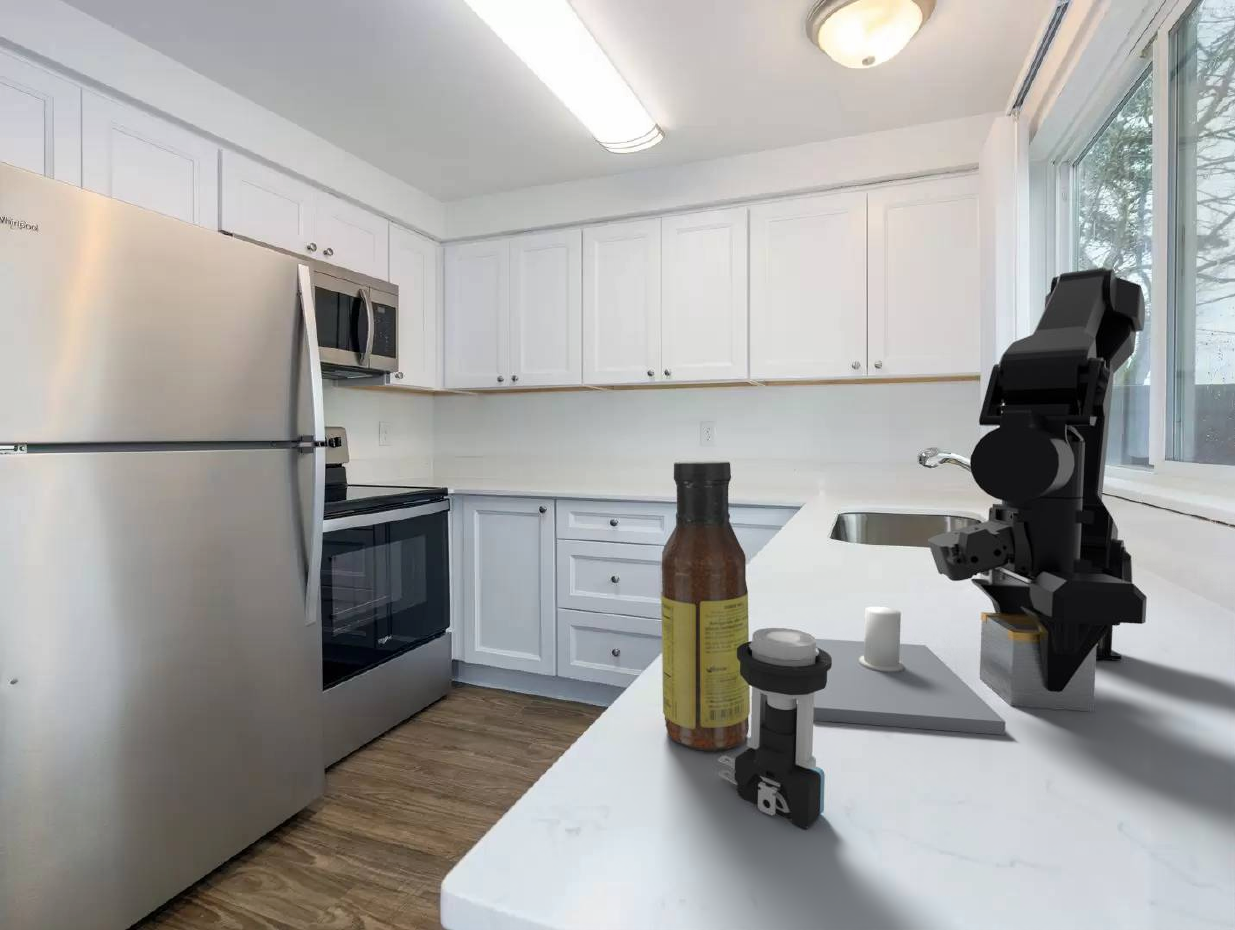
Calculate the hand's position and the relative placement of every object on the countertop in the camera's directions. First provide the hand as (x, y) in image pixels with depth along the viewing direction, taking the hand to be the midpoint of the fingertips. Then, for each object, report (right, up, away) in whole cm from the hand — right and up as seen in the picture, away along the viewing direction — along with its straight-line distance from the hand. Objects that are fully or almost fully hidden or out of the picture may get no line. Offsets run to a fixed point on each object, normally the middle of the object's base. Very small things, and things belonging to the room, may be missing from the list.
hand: (1033, 676), depth 55 cm
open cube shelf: (0, -2, 0) cm, 2 cm away
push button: (-27, -2, -17) cm, 32 cm away
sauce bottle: (-30, -2, -9) cm, 31 cm away
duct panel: (-13, -1, +2) cm, 13 cm away
